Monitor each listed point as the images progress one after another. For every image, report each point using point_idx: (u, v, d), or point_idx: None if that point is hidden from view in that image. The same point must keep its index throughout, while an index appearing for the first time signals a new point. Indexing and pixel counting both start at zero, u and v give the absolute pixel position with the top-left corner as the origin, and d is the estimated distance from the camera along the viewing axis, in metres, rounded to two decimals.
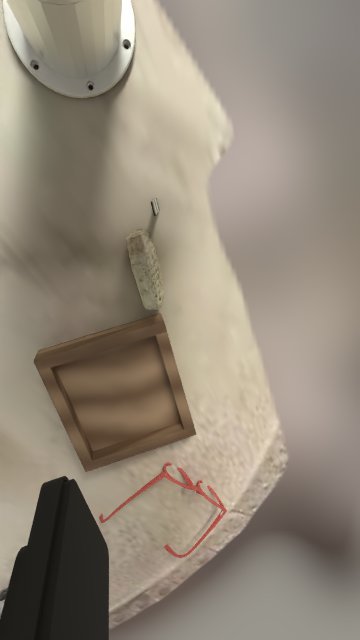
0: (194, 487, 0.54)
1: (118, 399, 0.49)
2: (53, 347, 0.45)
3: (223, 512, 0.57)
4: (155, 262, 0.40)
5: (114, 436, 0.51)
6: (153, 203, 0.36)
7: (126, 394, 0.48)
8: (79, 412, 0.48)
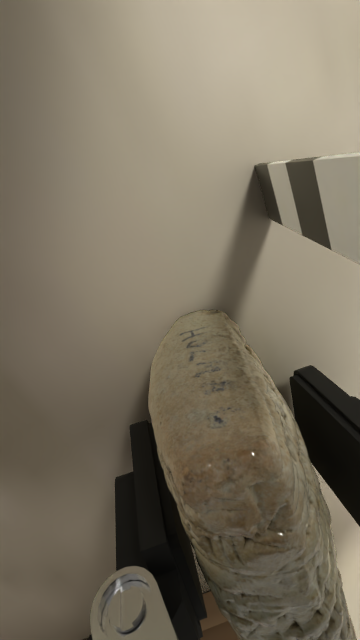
0: None
1: None
2: None
3: None
4: None
5: None
6: None
7: None
8: None
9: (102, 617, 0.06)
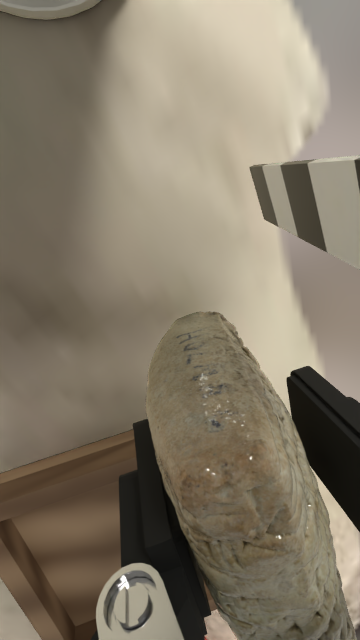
0: None
1: (117, 549, 0.29)
2: (2, 477, 0.26)
3: None
4: None
5: None
6: None
7: None
8: (51, 574, 0.29)
9: (107, 613, 0.06)
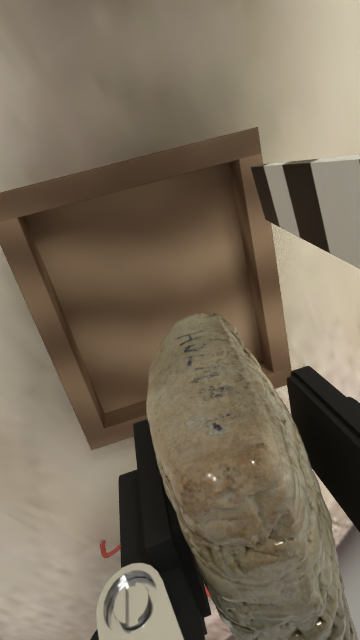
0: None
1: (154, 311, 0.26)
2: None
3: None
4: None
5: (144, 385, 0.28)
6: None
7: (168, 301, 0.26)
8: (79, 334, 0.25)
9: (108, 613, 0.06)
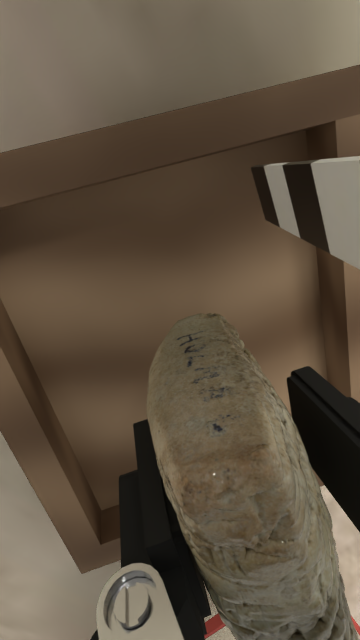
0: None
1: None
2: None
3: None
4: None
5: None
6: None
7: None
8: (62, 403, 0.16)
9: (108, 613, 0.06)
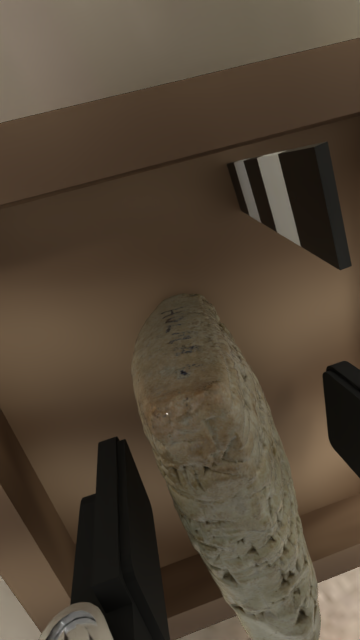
0: None
1: None
2: None
3: None
4: (280, 461, 0.08)
5: (173, 541, 0.15)
6: None
7: None
8: (48, 467, 0.12)
9: None
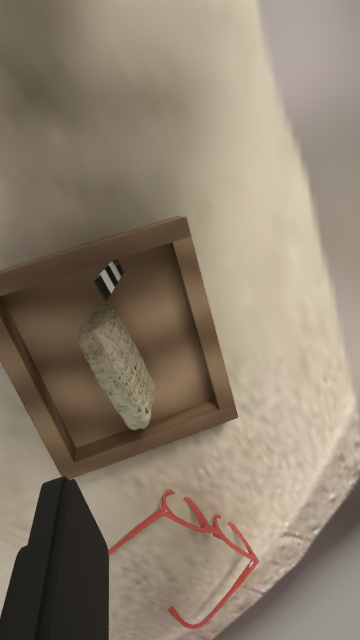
0: (210, 528, 0.35)
1: None
2: (1, 270, 0.27)
3: (254, 563, 0.38)
4: (128, 358, 0.25)
5: (109, 423, 0.32)
6: (102, 279, 0.22)
7: None
8: (50, 383, 0.30)
9: None
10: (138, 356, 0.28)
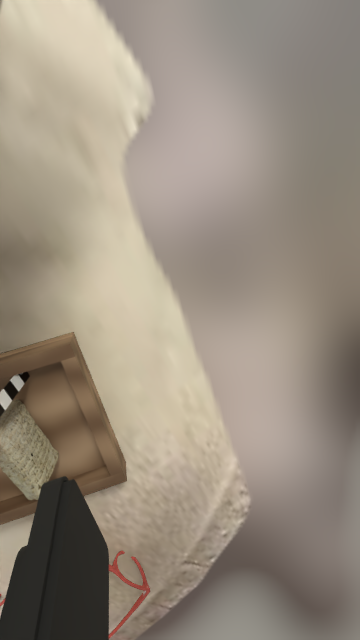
0: None
1: None
2: None
3: (146, 592, 0.47)
4: (25, 449, 0.34)
5: None
6: None
7: None
8: None
9: None
10: (38, 441, 0.36)
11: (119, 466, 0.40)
